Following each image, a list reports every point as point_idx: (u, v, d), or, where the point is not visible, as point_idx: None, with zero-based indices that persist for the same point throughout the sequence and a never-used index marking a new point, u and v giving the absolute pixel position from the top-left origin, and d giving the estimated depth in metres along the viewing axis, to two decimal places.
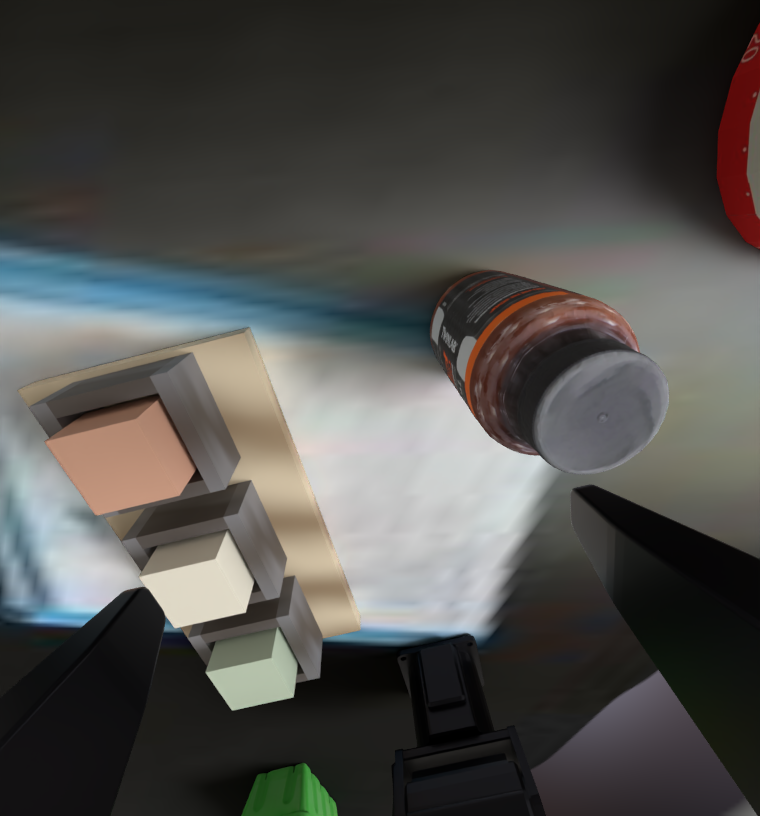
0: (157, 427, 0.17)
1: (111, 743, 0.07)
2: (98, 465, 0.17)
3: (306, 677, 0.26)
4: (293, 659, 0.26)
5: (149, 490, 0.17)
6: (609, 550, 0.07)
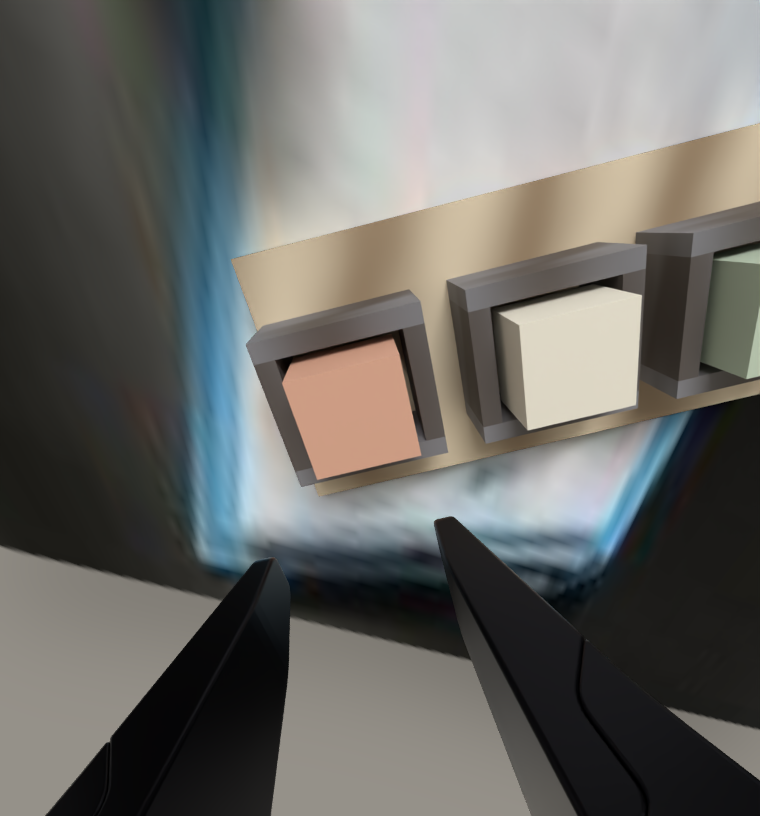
0: (311, 367, 0.14)
1: (270, 709, 0.06)
2: (349, 436, 0.14)
3: None
4: None
5: (388, 389, 0.13)
6: (450, 585, 0.07)
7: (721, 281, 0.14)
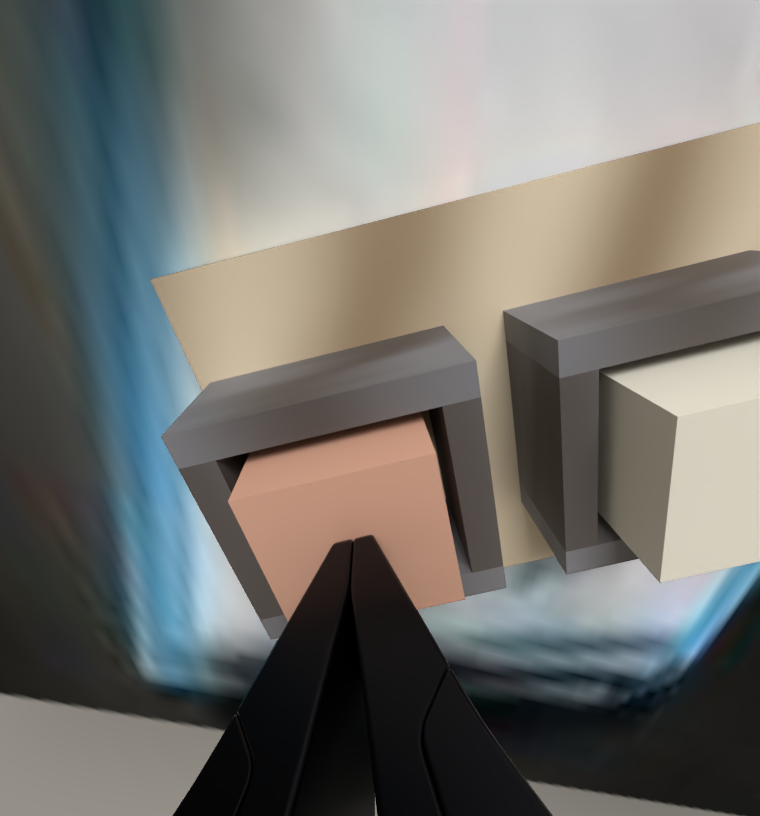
0: (284, 461, 0.08)
1: None
2: None
3: None
4: None
5: (414, 507, 0.08)
6: None
7: None
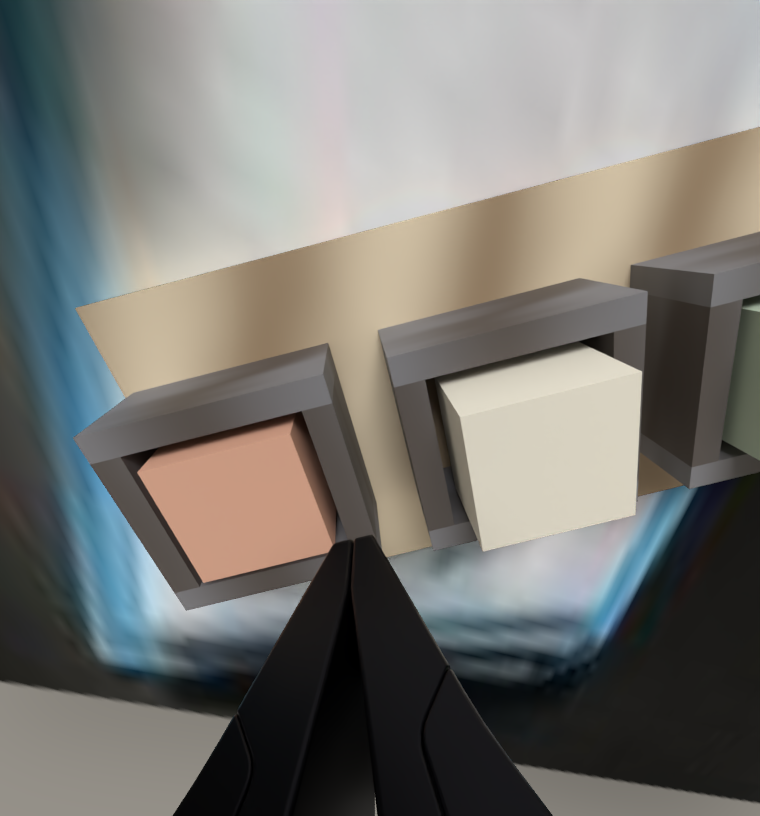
0: (187, 444, 0.11)
1: None
2: (237, 532, 0.11)
3: None
4: None
5: (281, 476, 0.10)
6: None
7: (752, 339, 0.10)
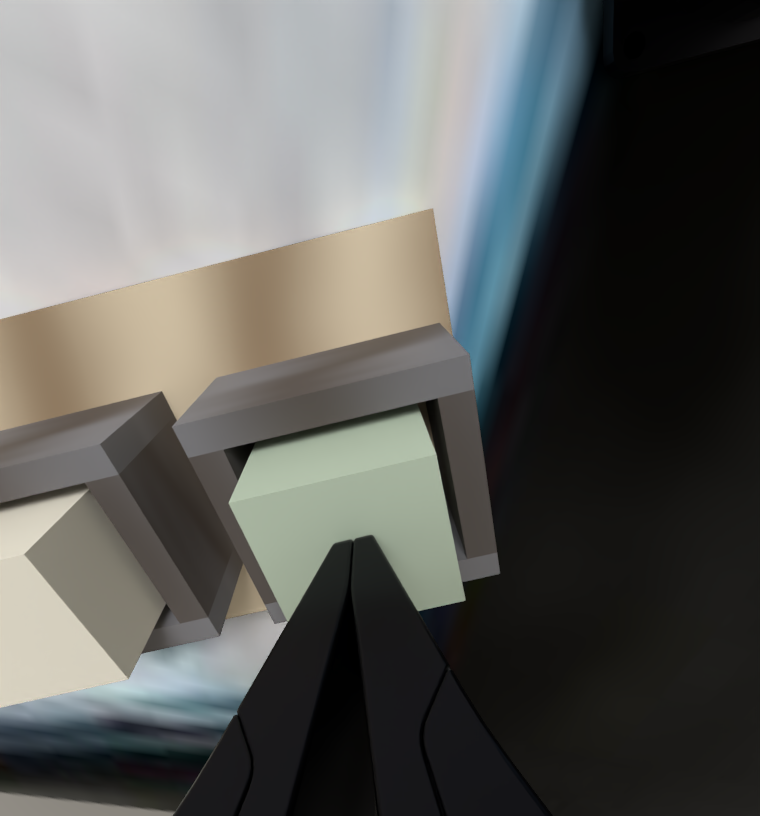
0: None
1: None
2: None
3: (460, 393, 0.08)
4: (384, 420, 0.09)
5: None
6: None
7: None
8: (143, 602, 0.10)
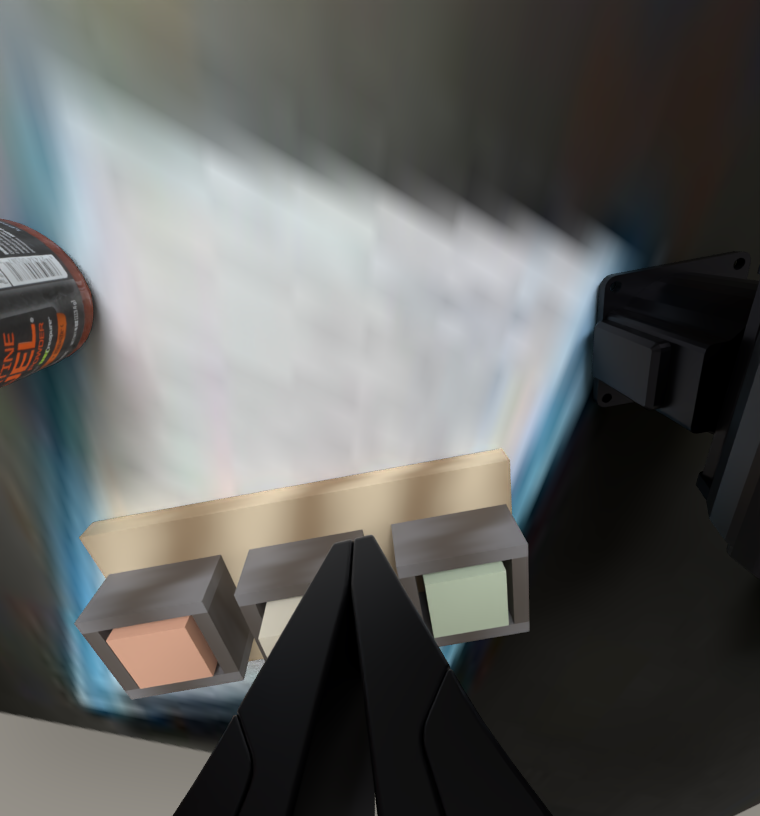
0: None
1: None
2: (158, 667, 0.20)
3: (521, 557, 0.19)
4: None
5: (181, 643, 0.20)
6: None
7: None
8: None
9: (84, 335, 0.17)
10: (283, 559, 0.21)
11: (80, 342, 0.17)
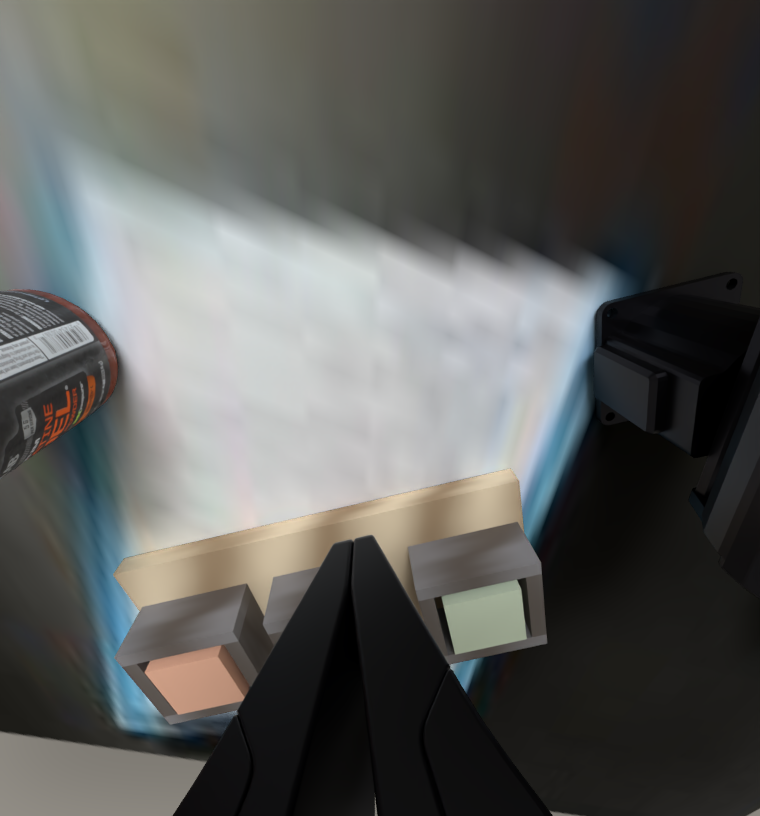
0: None
1: None
2: (194, 693, 0.21)
3: (535, 575, 0.20)
4: None
5: (215, 671, 0.21)
6: None
7: None
8: None
9: (111, 389, 0.18)
10: (307, 586, 0.22)
11: (106, 397, 0.18)
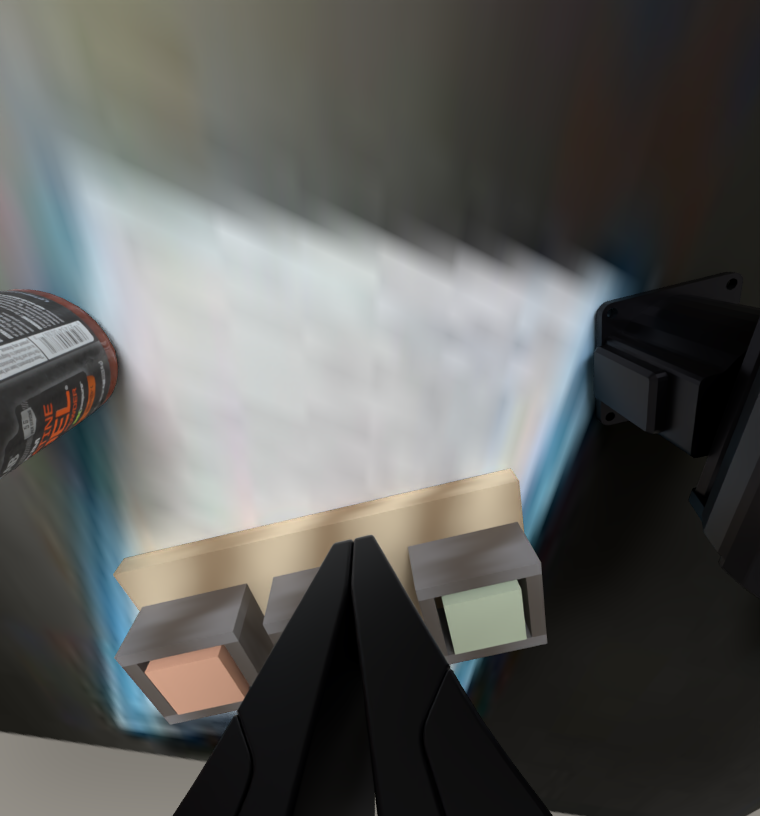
0: None
1: None
2: (194, 694, 0.21)
3: (535, 575, 0.20)
4: None
5: (215, 671, 0.21)
6: None
7: None
8: None
9: (111, 389, 0.18)
10: (307, 586, 0.22)
11: (106, 397, 0.18)
